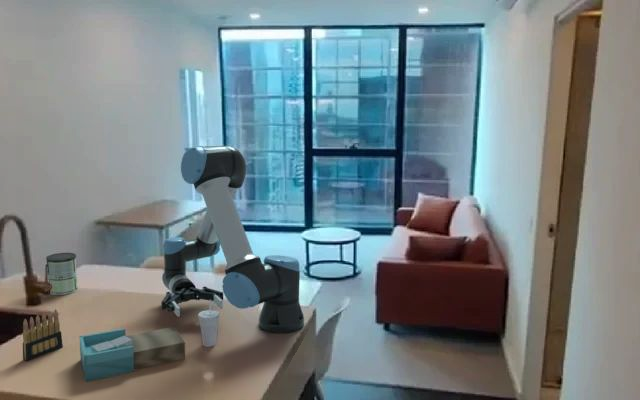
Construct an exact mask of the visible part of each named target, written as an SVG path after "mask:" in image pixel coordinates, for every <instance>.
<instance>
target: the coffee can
mask: <svg viewBox="0 0 640 400" xmlns="http://www.w3.org/2000/svg"><path fill="white" fill-rule="evenodd" d="M76 258H77V254H76V253H73V252H57V253H53V254H50V255H47V256H46V257H45V259H46V268H47V267H48V271H47V281H48V280H49V282H50V283H51V284H52V286H53V290H52V291H51V293H50V294H49V295H52V296H65V295H70V294H73V293H75V292H78V289H79V288H78V276H77V275H78V273H77V259H76Z"/></svg>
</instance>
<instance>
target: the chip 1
mask: <svg viewBox="0 0 640 400" xmlns="http://www.w3.org/2000/svg"><path fill="white" fill-rule="evenodd" d="M113 349H116V347H115V346H114V345H113V344H111V343H110V342H108V341H106V342H103V343H100V344H97V345H94V346H91V351H92V353H97V352H102V351H107V350H113Z"/></svg>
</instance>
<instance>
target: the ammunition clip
mask: <svg viewBox="0 0 640 400" xmlns="http://www.w3.org/2000/svg"><path fill="white" fill-rule="evenodd" d="M59 319H60V318H59V313H58V311H57V309H56V308H55V309H54V311H53V315H52V312H51V311H50V310H49V311H48V315H47V317H46V314H45V312H42V315H41V318H40V316H39V315H38V314H36V317H35V321H34V318H33V316H30V318H29V324H28V321H27V319H26V318H24V319H23V325H22V330H23V332H22V339H23V340H22V360H23V361H25V362H29V361H31V360H34V359H37V358H40V357H42V356H44V355H47V354H50V353H52V352H55V351H57V350H60V349H62V348H63V347H64V345H63V335H62V331H61V325H60V324H61V323H60V320H59Z"/></svg>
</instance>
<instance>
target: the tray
mask: <svg viewBox="0 0 640 400" xmlns="http://www.w3.org/2000/svg"><path fill="white" fill-rule="evenodd" d="M124 335H125V336H127V334H126V328H120V329H115V330H109V331H108V330H107V331H103V332H97V333H90V334H85V335H79V337H78V338H79V355H80V363H81V368H82V371H83V372H82V373H83V377H84V382H85V383H87V382H91V381H95V380H101V379H103V378H104V379H105V378H109V377H110V378H111V377H114V376H117V375H118V376H119V375H122V374H126V373H131V372H132V373H133V372H135V370H134V356H133V346H128V347H123V348H118V349H113V350H107V351H102V352H97V353H92V351H91V346H94V345H97V344H100V343H103V342H106V341H108V342H109V341H112V340H114V339H117V338H119V337H122V336H124Z"/></svg>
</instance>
